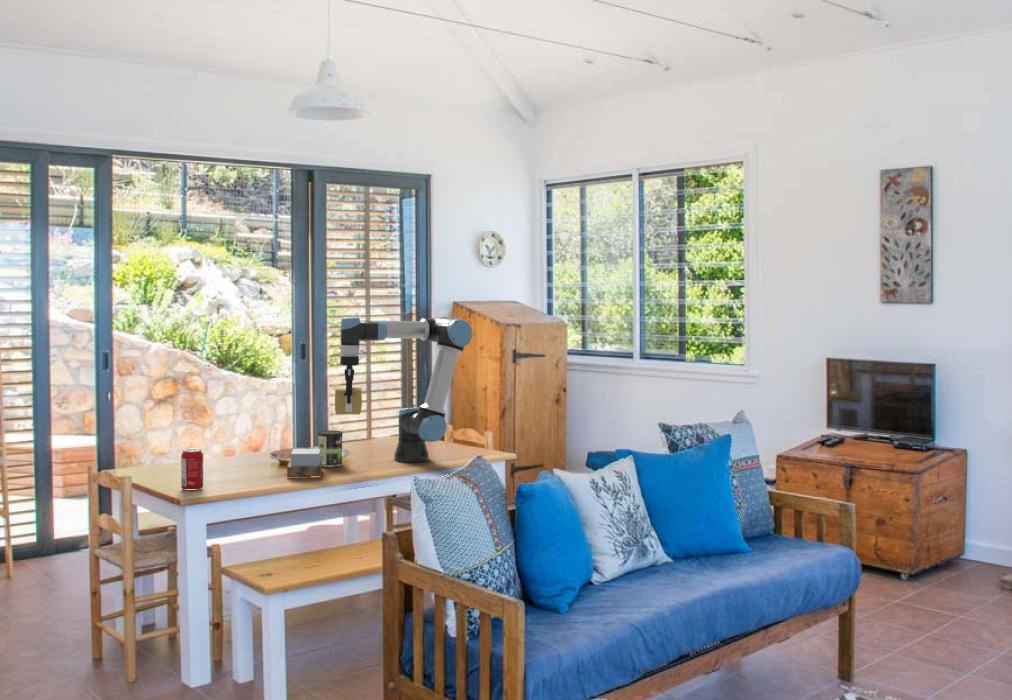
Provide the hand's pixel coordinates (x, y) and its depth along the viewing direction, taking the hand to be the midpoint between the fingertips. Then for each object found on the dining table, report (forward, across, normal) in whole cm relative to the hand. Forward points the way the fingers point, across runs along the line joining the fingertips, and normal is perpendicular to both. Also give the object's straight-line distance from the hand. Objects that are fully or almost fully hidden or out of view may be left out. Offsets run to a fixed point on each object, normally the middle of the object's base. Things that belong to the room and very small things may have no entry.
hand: (348, 409), depth 413 cm
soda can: (+27, +28, -57) cm, 69 cm away
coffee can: (+26, -18, -8) cm, 33 cm away
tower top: (+22, +2, -17) cm, 28 cm away
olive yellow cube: (+2, 0, 0) cm, 2 cm away
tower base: (+27, +2, -17) cm, 32 cm away
